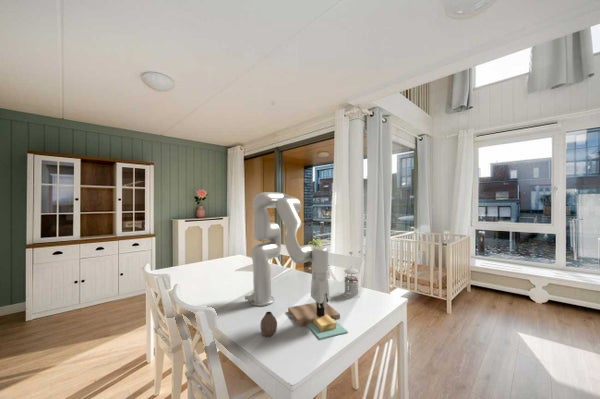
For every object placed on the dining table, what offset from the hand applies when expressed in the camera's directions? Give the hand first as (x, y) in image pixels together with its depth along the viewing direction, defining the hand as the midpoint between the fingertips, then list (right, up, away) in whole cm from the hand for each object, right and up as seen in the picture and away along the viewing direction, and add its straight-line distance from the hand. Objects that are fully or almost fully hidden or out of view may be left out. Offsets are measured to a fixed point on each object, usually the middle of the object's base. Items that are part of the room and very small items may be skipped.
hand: (320, 315), depth 111 cm
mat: (+2, -3, -6) cm, 7 cm away
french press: (+20, -3, +33) cm, 39 cm away
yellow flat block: (+1, -3, -4) cm, 5 cm away
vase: (-22, -4, -9) cm, 24 cm away
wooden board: (-3, -3, +7) cm, 8 cm away
